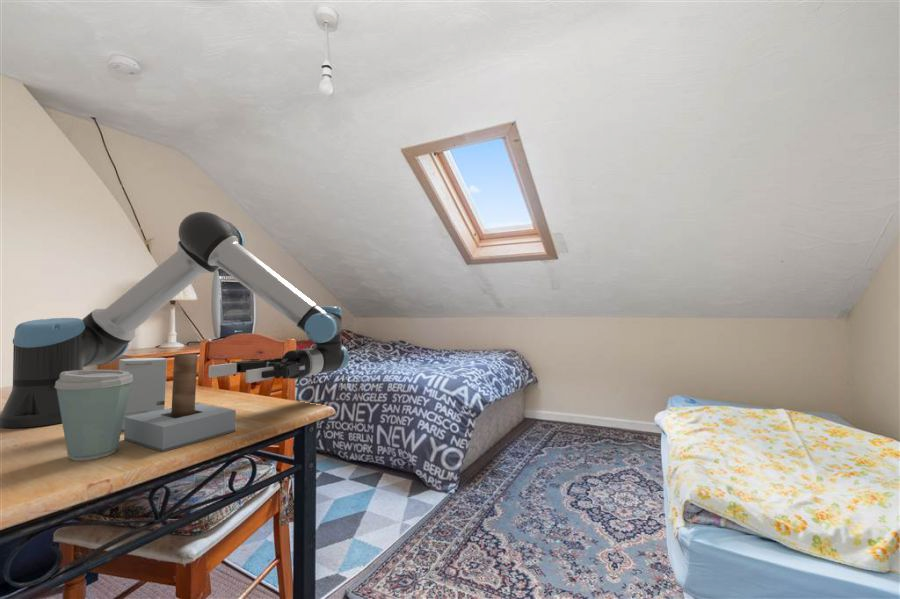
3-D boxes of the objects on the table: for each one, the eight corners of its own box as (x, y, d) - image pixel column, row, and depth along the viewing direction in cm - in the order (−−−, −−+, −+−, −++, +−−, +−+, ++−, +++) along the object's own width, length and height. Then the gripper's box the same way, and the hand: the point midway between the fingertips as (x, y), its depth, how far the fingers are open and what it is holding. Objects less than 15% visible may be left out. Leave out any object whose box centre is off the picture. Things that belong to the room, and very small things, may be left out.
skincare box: (118, 431, 85) (120, 361, 85) (114, 425, 89) (116, 358, 89) (166, 423, 91) (167, 357, 91) (160, 418, 95) (162, 355, 95)
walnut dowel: (166, 433, 82) (170, 354, 82) (186, 428, 85) (190, 353, 86) (177, 436, 80) (181, 356, 80) (197, 431, 83) (201, 354, 84)
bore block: (124, 439, 79) (124, 417, 80) (196, 422, 92) (196, 402, 92) (162, 451, 73) (163, 427, 73) (235, 431, 85) (235, 410, 85)
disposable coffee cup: (124, 441, 79) (126, 364, 79) (139, 453, 72) (141, 369, 72) (48, 456, 71) (50, 370, 71) (57, 472, 64) (60, 377, 64)
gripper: (335, 380, 104) (263, 396, 85) (271, 373, 116) (195, 385, 97) (336, 351, 104) (264, 361, 85) (271, 347, 116) (195, 354, 97)
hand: (227, 374), depth 91 cm, fingers open, 13 cm apart
